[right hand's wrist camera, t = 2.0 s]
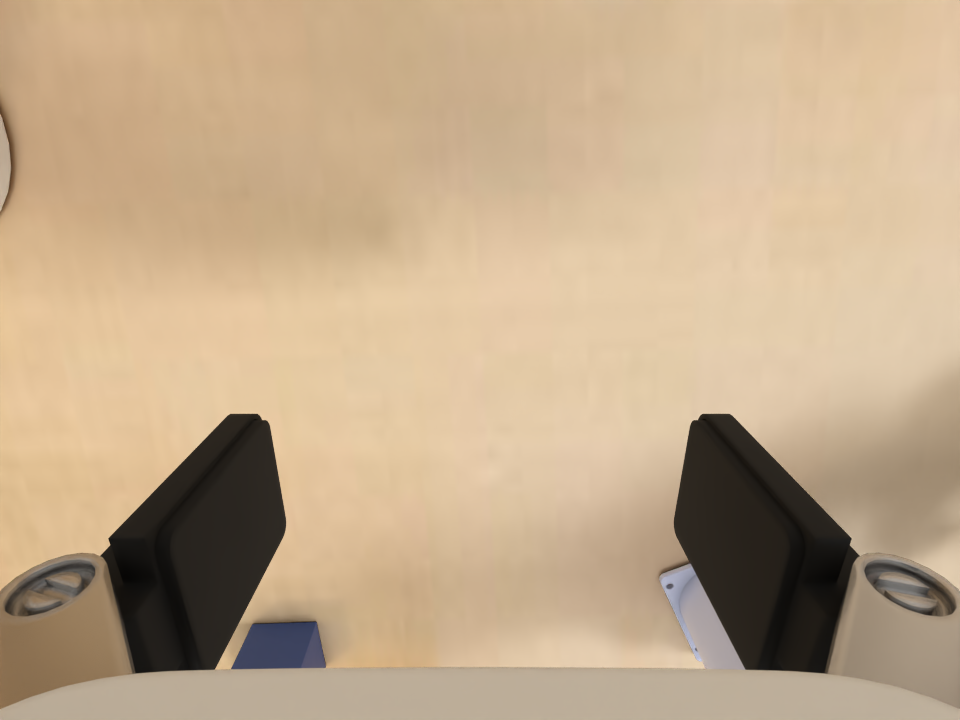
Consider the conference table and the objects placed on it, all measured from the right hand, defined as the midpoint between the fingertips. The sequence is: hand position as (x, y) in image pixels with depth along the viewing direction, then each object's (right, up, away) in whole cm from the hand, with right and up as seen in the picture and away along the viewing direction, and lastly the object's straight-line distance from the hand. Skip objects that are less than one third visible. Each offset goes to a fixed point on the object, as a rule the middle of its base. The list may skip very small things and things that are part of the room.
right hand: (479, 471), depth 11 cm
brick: (-15, -20, +28) cm, 37 cm away
